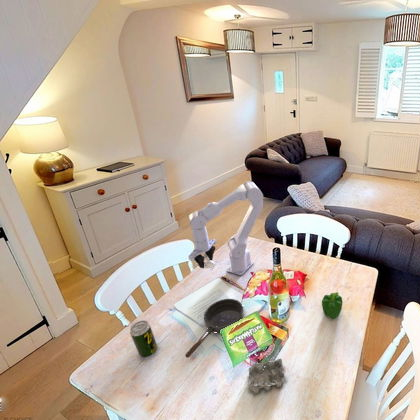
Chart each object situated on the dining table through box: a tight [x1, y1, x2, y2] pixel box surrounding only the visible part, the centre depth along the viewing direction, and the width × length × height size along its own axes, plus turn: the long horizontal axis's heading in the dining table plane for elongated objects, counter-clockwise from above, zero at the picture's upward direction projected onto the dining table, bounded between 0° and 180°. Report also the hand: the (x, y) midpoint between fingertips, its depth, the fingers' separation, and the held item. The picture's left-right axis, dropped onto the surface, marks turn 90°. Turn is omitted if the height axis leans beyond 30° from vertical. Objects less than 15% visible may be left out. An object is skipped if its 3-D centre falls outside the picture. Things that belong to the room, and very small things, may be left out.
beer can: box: [129, 320, 158, 359], centre depth 89 cm, size 5×5×12 cm
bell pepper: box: [321, 291, 343, 320], centre depth 106 cm, size 8×8×10 cm
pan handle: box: [184, 327, 213, 359], centre depth 92 cm, size 12×2×2 cm, turn 161°
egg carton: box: [248, 358, 285, 394], centre depth 83 cm, size 11×8×4 cm
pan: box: [203, 298, 245, 335], centre depth 104 cm, size 14×14×4 cm
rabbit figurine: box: [195, 252, 216, 271], centre depth 121 cm, size 6×4×8 cm
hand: (206, 264), depth 122 cm, fingers closed on rabbit figurine, 4 cm apart
